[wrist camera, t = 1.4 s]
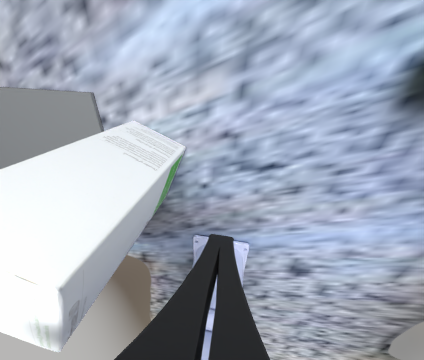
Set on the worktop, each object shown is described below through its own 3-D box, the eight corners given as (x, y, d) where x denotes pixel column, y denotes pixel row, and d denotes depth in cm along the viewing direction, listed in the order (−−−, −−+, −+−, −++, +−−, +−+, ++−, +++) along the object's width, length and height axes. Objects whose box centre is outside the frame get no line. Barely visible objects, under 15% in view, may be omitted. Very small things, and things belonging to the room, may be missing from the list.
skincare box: (165, 197, 24) (64, 357, 10) (118, 175, 23) (-55, 315, 10) (188, 143, 19) (61, 303, 6) (130, 113, 18) (-156, 219, 5)
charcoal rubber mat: (124, 202, 25) (122, 204, 25) (14, 187, 27) (11, 189, 27) (93, 92, 18) (90, 92, 18) (-54, 83, 20) (-59, 83, 20)
